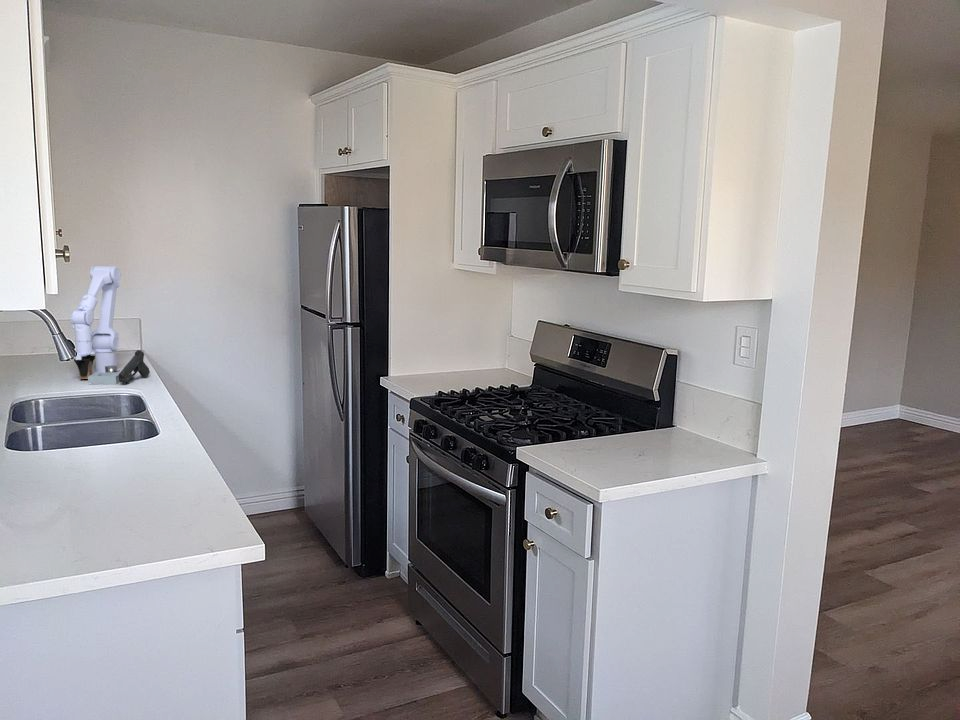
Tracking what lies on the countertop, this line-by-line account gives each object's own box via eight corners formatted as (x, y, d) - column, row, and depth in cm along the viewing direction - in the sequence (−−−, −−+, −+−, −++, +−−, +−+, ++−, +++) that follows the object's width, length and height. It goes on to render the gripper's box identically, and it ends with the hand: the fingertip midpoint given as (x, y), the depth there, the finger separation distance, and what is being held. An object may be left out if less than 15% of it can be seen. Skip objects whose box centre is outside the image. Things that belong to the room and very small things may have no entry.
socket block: (96, 380, 298) (95, 372, 297) (123, 379, 299) (122, 372, 299) (88, 384, 289) (87, 376, 288) (116, 384, 290) (115, 376, 290)
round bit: (107, 377, 303) (106, 365, 302) (119, 377, 304) (118, 365, 303) (104, 379, 299) (103, 367, 298) (116, 379, 299) (115, 367, 299)
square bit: (82, 378, 299) (81, 360, 298) (92, 378, 300) (91, 360, 299) (79, 380, 296) (78, 362, 295) (89, 379, 296) (88, 362, 295)
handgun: (151, 372, 307) (142, 348, 300) (130, 398, 293) (121, 372, 286) (145, 372, 307) (137, 347, 300) (125, 398, 293) (116, 372, 286)
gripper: (88, 343, 289) (90, 378, 291) (100, 338, 303) (102, 371, 305) (68, 343, 288) (70, 378, 290) (81, 338, 302) (83, 371, 304)
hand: (85, 375), depth 298 cm, fingers closed on square bit, 4 cm apart
